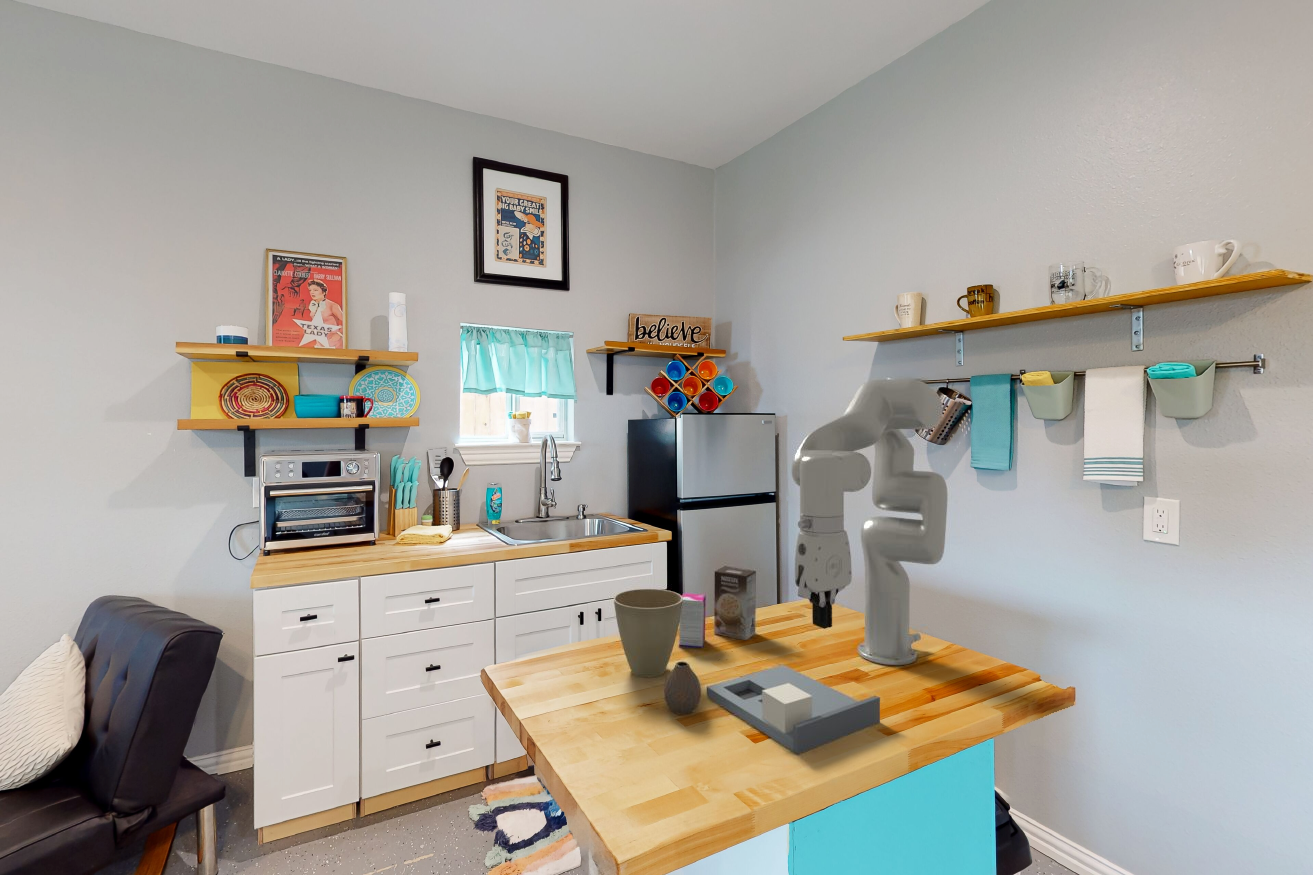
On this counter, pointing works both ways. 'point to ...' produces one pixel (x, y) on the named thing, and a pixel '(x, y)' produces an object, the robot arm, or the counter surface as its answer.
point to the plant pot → (648, 628)
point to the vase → (682, 689)
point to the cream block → (786, 706)
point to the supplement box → (692, 621)
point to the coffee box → (735, 602)
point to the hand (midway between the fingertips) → (822, 625)
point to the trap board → (828, 721)
